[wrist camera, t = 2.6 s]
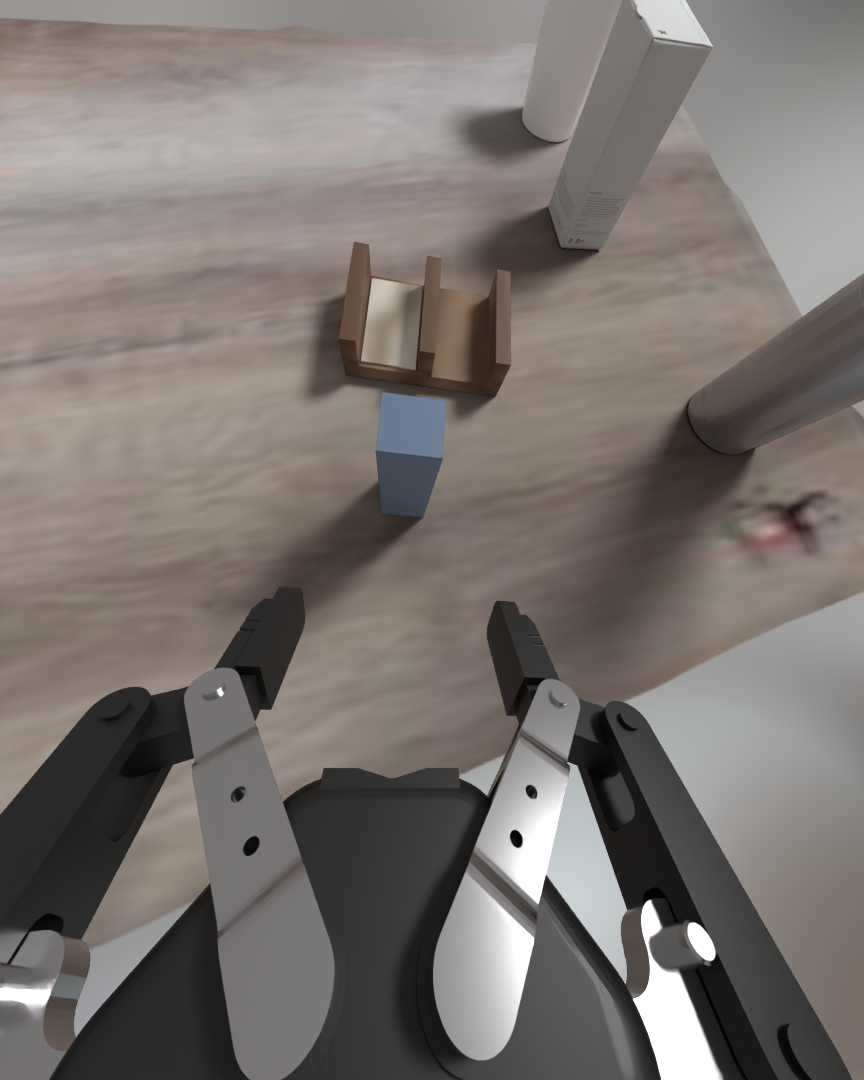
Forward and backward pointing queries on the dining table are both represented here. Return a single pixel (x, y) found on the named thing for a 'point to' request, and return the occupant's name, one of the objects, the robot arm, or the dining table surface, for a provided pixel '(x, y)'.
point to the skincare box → (625, 116)
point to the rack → (425, 330)
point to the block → (408, 452)
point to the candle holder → (566, 64)
